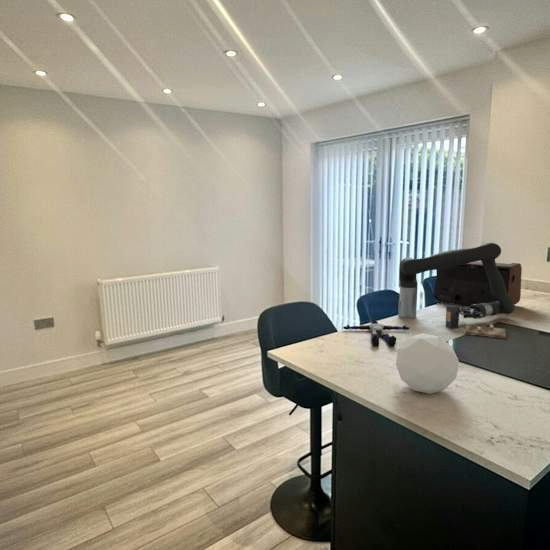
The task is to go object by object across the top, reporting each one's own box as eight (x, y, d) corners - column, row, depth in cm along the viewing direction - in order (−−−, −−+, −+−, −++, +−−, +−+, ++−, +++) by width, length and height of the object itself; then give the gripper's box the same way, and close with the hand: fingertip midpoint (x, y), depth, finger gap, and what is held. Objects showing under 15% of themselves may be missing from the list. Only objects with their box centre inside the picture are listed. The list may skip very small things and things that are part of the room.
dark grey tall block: (453, 325, 205) (454, 305, 203) (458, 327, 201) (459, 306, 200) (445, 326, 203) (446, 306, 201) (450, 328, 200) (451, 307, 198)
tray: (464, 334, 190) (465, 327, 190) (466, 327, 201) (466, 320, 200) (505, 338, 182) (506, 331, 182) (504, 331, 193) (505, 324, 192)
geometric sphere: (409, 408, 135) (373, 359, 137) (441, 375, 144) (408, 329, 146) (448, 404, 118) (407, 348, 120) (482, 366, 127) (444, 315, 130)
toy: (346, 335, 176) (342, 316, 206) (346, 348, 177) (342, 327, 207) (422, 336, 173) (406, 317, 202) (422, 349, 174) (406, 328, 203)
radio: (425, 303, 253) (427, 260, 248) (447, 295, 274) (449, 256, 270) (503, 316, 220) (507, 267, 216) (521, 305, 242) (524, 261, 238)
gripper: (469, 300, 214) (446, 304, 208) (492, 306, 201) (469, 310, 195) (469, 314, 215) (446, 317, 209) (491, 320, 202) (468, 324, 196)
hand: (457, 314), depth 202 cm, fingers open, 8 cm apart
